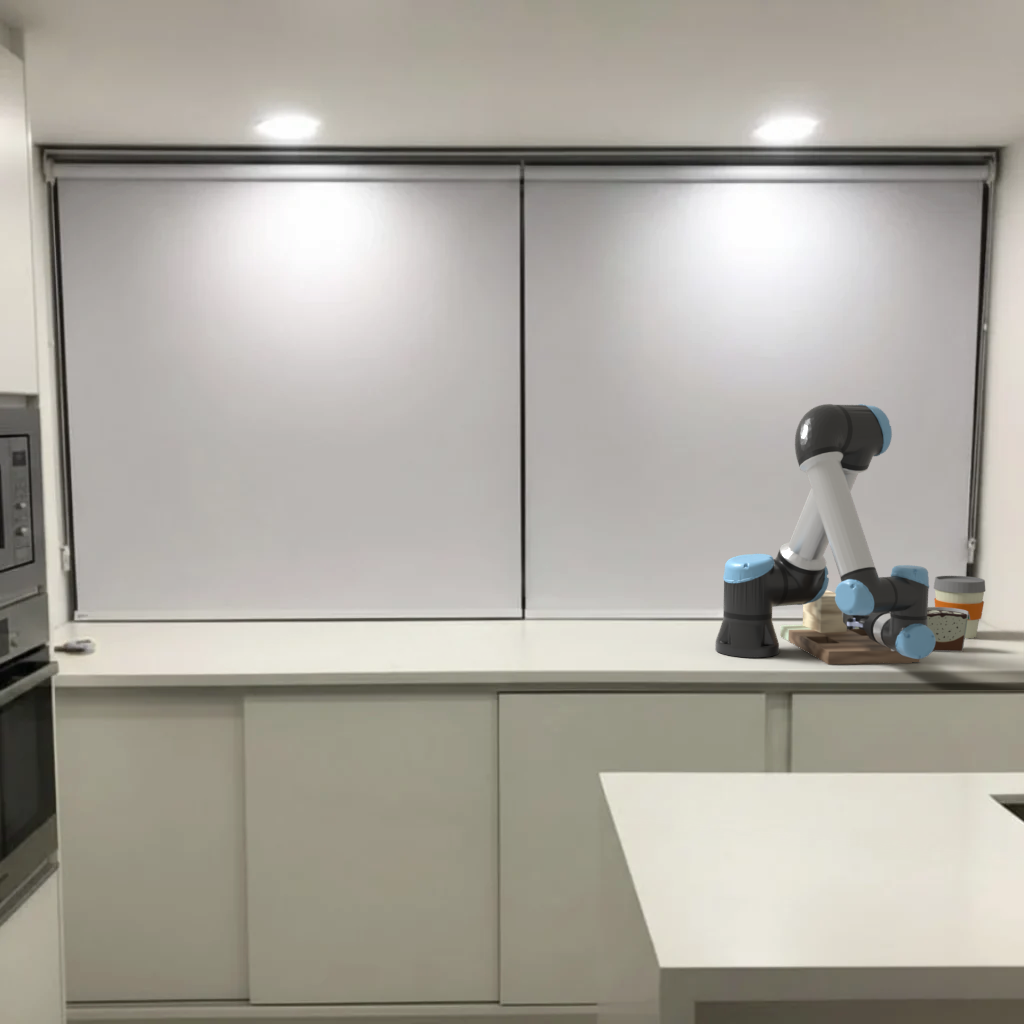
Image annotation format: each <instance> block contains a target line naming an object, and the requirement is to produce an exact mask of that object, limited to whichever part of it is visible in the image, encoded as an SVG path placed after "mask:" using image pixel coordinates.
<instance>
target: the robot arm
mask: <svg viewBox="0 0 1024 1024" xmlns="http://www.w3.org/2000/svg"><path fill="white" fill-rule="evenodd" d="M892 431H893V430H892V426H891V424H890V419H889V417H888V415H887V414H886V413H885V412H884V410H882V409H881V408H879V407H878V406H875V405H866V404H864V403H860V404H831V403H828V404H827V403H826V404H820V405H817V406H814V407H813V408H811V409H809V411H807V412H806V413H805V414H804V415H803V416H802V417H801V419H800V421H799V423H798V425H797V428H796V430H795V438H794V450H795V457H796V460H797V463H798V467H799V470H800V471H802V472H803V473H806V476H807V479H808V482H809V485H810V490H809V493H808V495H807V498H806V500H805V503H804V505H803V508H802V510H801V512H800V515H799V518H798V520H797V523H796V525H795V527H794V530H793V532H792V535H791V538H790V540H789V542H786V543H784V544H782V545H781V546H780V548H779V550H778V551H777V555H776V557H775V558H774V557H773V556H772V555H771V554H767V553H752V554H749V553H747V554H746V553H745V554H740V555H737V556H733V557H731V558H729V559H728V560H727V561H726V562H725V564H724V571H723V572H724V573H723V613H722V614H723V616H722V617H723V618H722V622H721V624H720V628H719V630H718V634H717V636H716V639H715V651H716V652H717V653H719V654H723V655H726V656H732V657H740V658H767V657H768V658H769V657H772V656H773V657H774V656H776V655H778V654H779V652H780V650H779V649H780V644H779V643H780V642H779V640H778V637H777V632H776V629H775V627H774V623H773V607H784V606H786V607H787V606H803V604H807V603H811V602H814V601H817V600H818V599H820V598H821V597H822V596H823V594H824V593H825V591H827V590H828V586H829V582H830V581H829V580H830V578H829V577H828V575H829V570H828V567H827V560H826V558H825V556H824V554H825V553H826V549H827V547H828V544H829V546H830V550H831V552H832V556H833V558H834V562H835V565H836V568H837V570H838V574H839V577H840V581H841V582H838V584H837V585H836V587H835V591H834V592H835V593H836V597H835V601H836V604H837V606H838V608H839V609H840V610H841V611H842V617H843V622H844V623H845V624H846V626H847V629H849V630H851V629H855V626H856V627H859V629H861V630H865V632H866V633H867V635H868V637H869V638H870V639H871V640H873V641H874V642H877V643H879V644H881V645H884V646H886V647H888V648H890V649H891V651H896V652H898V653H900V654H901V655H903V656H906V657H910V658H914V659H920V660H921V659H924V658H926V657H928V656H929V655H930V654H931V653H932V652H934V651H933V649H934V647H935V642H936V640H935V636H934V634H933V632H932V631H931V629H929V628H928V627H927V623H928V618H927V612H928V607H929V589H930V585H929V582H930V581H929V580H930V579H929V571H928V570H927V568H925V567H923V566H919V565H910V564H901V565H895V566H893V567H892V569H891V574H890V576H881V577H880V576H879V574H878V572H877V571H878V570H877V568H876V566H875V563H874V560H873V556H872V553H871V551H870V550H871V549H870V548H869V545H868V542H867V539H866V535H865V532H864V530H863V527H862V523H861V520H860V517H859V514H858V511H857V508H856V505H855V502H854V499H853V497H852V493H851V491H852V488H853V486H854V484H855V481H856V480H857V477H858V475H859V474H860V473H864V472H866V471H867V470H868V469H869V467H870V464H871V462H872V460H873V458H874V457H879V456H880V455H882V454H885V452H886V451H887V450H888V449H889V447H890V445H891V441H892V435H893V434H892Z"/></svg>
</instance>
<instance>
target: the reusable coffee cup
mask: <svg viewBox="0 0 1024 1024" xmlns="http://www.w3.org/2000/svg"><path fill="white" fill-rule="evenodd" d="M933 589H934V590H935V592H934V593H935V598H934V599H933V601H934V607H946V608H956V609H962V610H966V611H968V614H969V615H970V620H969V619H968V620H967V627H966V633H965V638H971V639H974V638H973V637H975V638H976V637H977V633H978V626H979V623H980V620H981V619H982V615H983V610H984V603H985V602H984V601H983V600H984V593H985V592H986V581H985V579H983V578H980V577H975V576H963V575H940V576H935V578H934V583H933Z"/></svg>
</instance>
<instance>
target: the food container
mask: <svg viewBox="0 0 1024 1024" xmlns="http://www.w3.org/2000/svg"><path fill="white" fill-rule="evenodd" d="M927 618H928V623H927V627H928V628H929V629H931V631H932V632H933V634H934V636H935V640H936V642H935V647H934V649H933V650H936V651H935V652H949V651H964V645H965V640H966V639H965V633H966V627H967V620H968V619H969V620H970V615H969V614H968V611H966V610H962V609H956V608H946V607H935V606H928V612H927Z"/></svg>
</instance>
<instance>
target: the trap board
mask: <svg viewBox="0 0 1024 1024" xmlns="http://www.w3.org/2000/svg"><path fill="white" fill-rule="evenodd" d="M780 636H781V637H780V638H782V637H783V638H782V639H784V638H785V639H787V640H788V641H787V640H786V641H787V642H789V641H790V642H789V643H791V644H792V643H793V644H792V645H794V644H795V645H794V646H796V647H797V646H798V647H797V648H799V647H800V648H799V649H801V648H802V649H801V650H802V651H804V650H805V651H804V652H806V651H807V652H806V653H808V652H809V653H810V655H811V654H812V655H811V656H813V655H814V656H813V657H815V656H816V657H817V658H816V657H815V658H816V659H818V658H819V659H818V660H819V661H821V660H822V662H823V663H825V664H827V665H867V664H869V665H870V664H877V665H878V664H913V663H912V662H920V660H921V659H914V658H910V657H906V656H903V655H901V654H900V653H898V652H896V651H891V649H890V648H888V647H886V646H884V645H881V644H879V643H877V642H874V641H873V640H871V639H870V638H869V637H868V635H867V633H866V632H865V630H861V629H859V627H856V626H855V629H851V630H849V629H847V631H846V632H829V633H820V632H818V631H815V630H813V629H810V628H808V627H805V626H803V624H789V625H788V624H781V625H780ZM785 639H784V640H785ZM809 653H808V654H809Z"/></svg>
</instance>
